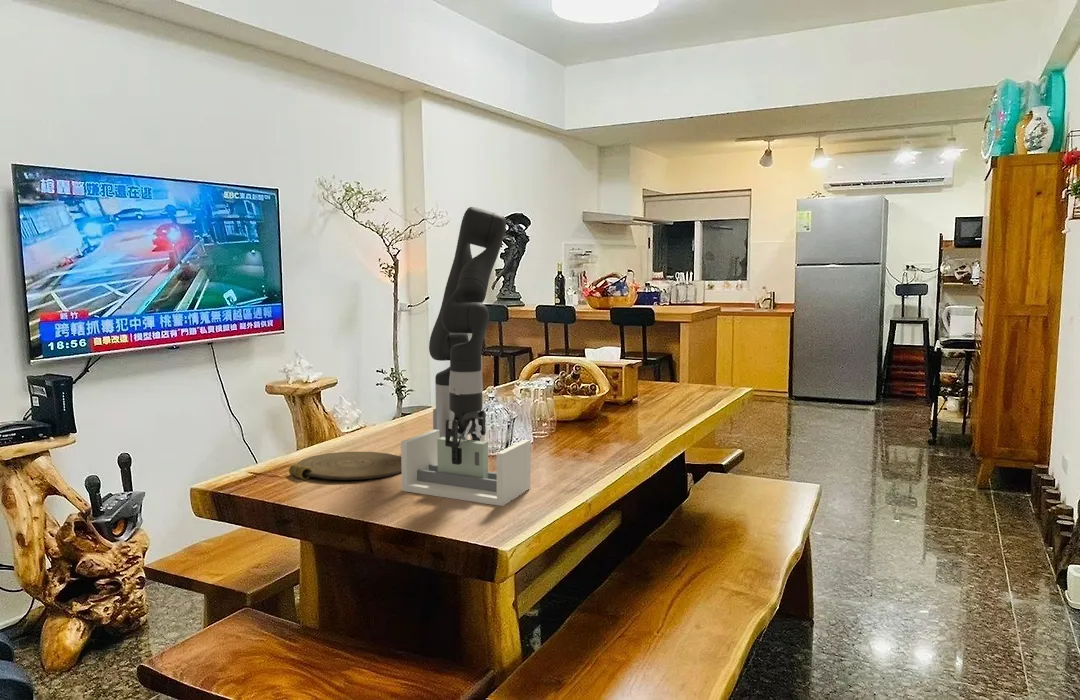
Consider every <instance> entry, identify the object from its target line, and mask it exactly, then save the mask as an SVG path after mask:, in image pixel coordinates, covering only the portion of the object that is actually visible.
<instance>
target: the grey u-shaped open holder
mask: <svg viewBox="0 0 1080 700" xmlns="http://www.w3.org/2000/svg"><path fill="white" fill-rule="evenodd" d="M438 438H440V430H433V429H431V430H430V431H426V432H423V433H422V434H418V435H415V436H413V437H410V438H407V439H405V440H402V441H400V448H401V449H400V451H401V452H400V453H401V454H400V455H401V456H400V457H401V469H402V472H401V491H402V492H407V493H413V494H414V493H415V494H420V495H427V496H434V497H441V498H448V499H453V500H461V501H466V502H467V501H468V502H475V503H479V504H486V505H492V506H493V505H494V506H500V507H504V506H505V505H507V504H509V503H510V502H512V501H513V500H515V499H516V498H518V497H519V495H520V496H521V495H523V494H524V493H526V492H527V491H526V490H527V489H529V488H530V489H531V443H532V442H531V439H522V440H520V441H519V442H516V443H515V444H514V443H513V445H511V446H509V447H506V448H505V449H502V450H501V451H498V452H496V472H494V471H488V478H480V477H473V476H466V475H458V474H451V473H444V472H438V462H437V439H438ZM530 489H529V490H530ZM525 491H526V492H525ZM523 492H524V493H523ZM522 493H523V494H522ZM511 500H512V501H511Z"/></svg>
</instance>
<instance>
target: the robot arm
mask: <svg viewBox="0 0 1080 700" xmlns="http://www.w3.org/2000/svg"><path fill="white" fill-rule="evenodd" d="M506 228H507V220H506V218H505V216H504V215H502V214H500V213H497V212H493V211H490V210H488V209H487V210H486V209H484V208H481V207H480V208H479V207H477V206H475V207H474V206H470V207H468V208H466V210H465V212H464V214H463V216H462V220H461V224H460V228H459V232H458V233H459V234H458V237H457V244H456V249H455V254H454V258H453V262H452V265H451V268H450V272H449V275H448V279H447V280H446V285H445V288H444V293H443V297H442V302H441V306H440V310H439V312H438V315H437V318H436V321H435V322H434V325H433V328H432V330H431V334H430V337H429V341H428V343H429V344H428V350H429V351H428V352H429V355H430V356H431V358H432V359H433V360H435V361H440V362H442V361H443V362H444V361H449V365H450V366H449V367H447V368H446V369H443V370H442V371H441V370H440V371H439V372H438V373H436V374H435V380H434V381H435V383H434V384H435V408H433V410H432V427H433V428H432V430H440V438H441V437H445V446H447V447H451V449H452V463H453V464H456V465H460V464H461V463H462V448H461V446H462V443H463V441H464V440H465V439H467V440H468V435H469V436H470V440H476V441H482V438H483V436H486V431H487V430H486V429H487V427H486V412H485V410H483V376H482V350H483V343H484V338H485V334H486V332H487V328H488V324H489V321H490V313H489V308H488V307H487V306H486V305H485V303H484V301H485V299H486V296H487V292H488V286H489V281H490V278H491V274H492V271H493V269H494V266H495V264H496V261H497V259H498V255H499V253H500V250H501V247H502V243H503V240H504V237H505V234H506ZM471 245H473V246H477V247H481V248H484V250H483V251H481V253H479V254H477V255H476V256H474V257H473V255H472V250H471ZM468 334H471V337H470V339H469V335H468ZM450 438H452V439H451V441H450ZM458 439H459V441H458Z"/></svg>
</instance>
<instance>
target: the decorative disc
mask: <svg viewBox="0 0 1080 700" xmlns="http://www.w3.org/2000/svg"><path fill="white" fill-rule="evenodd" d="M288 473H289V474H290V476H293V475H294V476H293V477H295V476H296V477H297V478H299V479H300V480H303V479H306V480H309V479H310V478H311V477H312V478H319V479H324V480H342V481H345V480H349V481H350V480H356V481H357V480H369V479H371V480H372V479H380V478H384V477H390V476H395V475H397V474H402V469H401V456H400V455H396V454H391V453H389V452H376V451H341V452H340V451H339V452H328V453H323V454H318V455H312V456H309V457H307V458H304V459H302V460H300V461H298V462H297V463H293V464H291V466H289V468H288ZM296 477H295V478H296ZM308 478H309V479H308Z"/></svg>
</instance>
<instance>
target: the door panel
mask: <svg viewBox="0 0 1080 700" xmlns="http://www.w3.org/2000/svg"><path fill="white" fill-rule="evenodd" d="M451 439H452V438H450V441H451ZM458 441H459V439H458ZM461 448H462V463H461V464H460V465H456V464H453V463H452V449H451V447H447V446H445V437H441V438H438V439H437V462H438V472H444V473H451V474H458V475H466V476H473V477H480V478H488V472H489V442H488V441H482V440H480V441H476V440H471V439H468V438H467V439H465V440H464V441H463V443H462V446H461Z"/></svg>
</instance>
